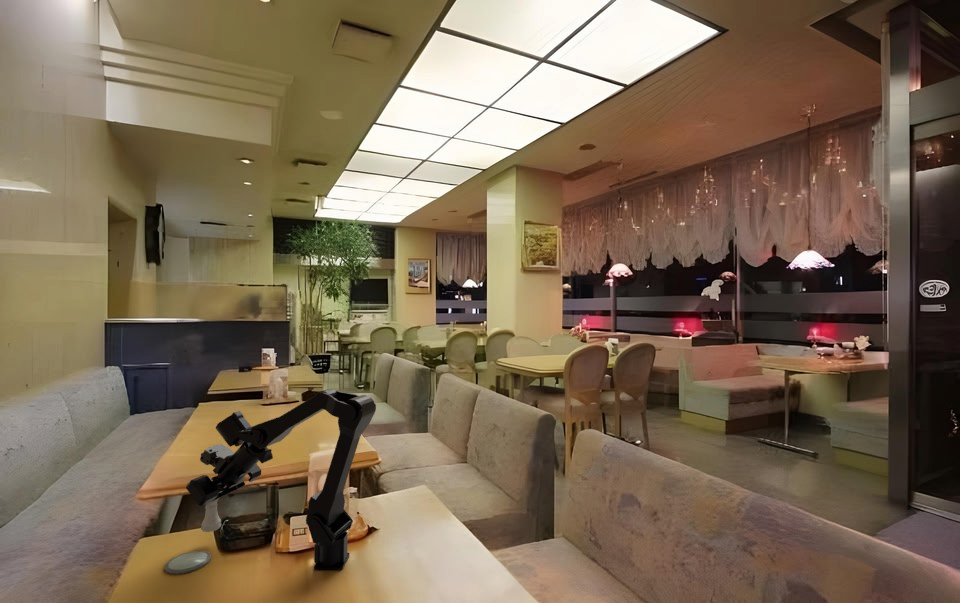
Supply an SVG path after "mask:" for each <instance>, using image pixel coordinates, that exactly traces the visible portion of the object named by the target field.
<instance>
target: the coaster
mask: <svg viewBox="0 0 960 603" xmlns="http://www.w3.org/2000/svg"><path fill="white" fill-rule="evenodd" d="M211 558H212V555H211V553H210V552H209V551H207V550H193V551H189V552H185V553H181V554H178V555H176V556H173V557H172V558H171V559H169V560H168V561H167V562H166V563H165V564H164V572H165V573H166V574H168V575H172V576H173V575H174V576H175V575H185V574H189V573H192V572H195V571H198V570H200V569H202V568H203V567H205V566H207V565H209V563H210V561H211Z"/></svg>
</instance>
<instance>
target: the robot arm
mask: <svg viewBox="0 0 960 603" xmlns="http://www.w3.org/2000/svg"><path fill="white" fill-rule="evenodd" d="M376 409H377V404H376V402H375V401H374V399H373V398H372V397H371V396H369V395H367V394H366V395H365V394H361V395H358V394H355V393H351V392H350V393H349V392H345V391H340V390H337V389H334V388H326V389H324V390H321V391H318V392H317V393H316V394H315V395H313V396H312V397H310V398H308V399H307V400H305V401H303V402H302V403H300V404H298V405H297V406H295V407H294V408H292V409H290V410H288V411H287V412H284V414H282V415H280V416H278V417H275V418H272V419H270V420H267V421H264V422H260V423H258V424H255V425H250V423H249V422H248V420H247V419H246V418H245V416H244V414H243V413H242V412H241V410H237V411H235V412H232V414H231V415H229V416H227V417H225V418H224V419H222V420H221V421H220V422H218V423H217V424H216V426H215V429H216V431H217V432H218V434H219V435H220V436H221V438H222V439H223V441H224V442H225V443H226V444H227V445H228V446H227V445H225V444H223V443H217V444H215V445H212V446H209V447H207V449H204V450H203V452H202V453H200V457H199V460H200V462H201V463H203V464H204V465H206V466H210V465H211V466H212V467H214V468H213V469H212V472H213V473H214V474H215V476H212V477H211V478H210V476H208V475H205V474H202V475H200V476H197V477H196V478H195V477H194V478H193V479H191V480H190V481H189V482H188V483H187V484H186V486H185V489H186V491H187V492H188V493H189V495H190V496H191V497H192V499H193V500H194V501H195V503H196V504H197V505H198V506H200V507H202V506H206V504H207V503H209V502H212V501H214V500H216V499H218V498H219V499H220V498H222V497H223V496H226V495H227V494H230V493H232V492H234V491H237V490H238V489H239V490H240V488H243V487H245V485H246V482H245V481H246V476H247V475H248V476H249V478H248V482H249V483H252V482H254V481H257V480H258V479H259V478H260V477H261V476H262V468H260V466H259V465H258V463H261V464H264V463H267V462H269V461H271V460H273V458H274V456H273V455H274V454H273V453H272V448H271V449H270V448H268V447H270V446H271V445H274V444H276V443H280V442H281V441H283V440H284V439H285V438H286V437H287V436H288V435H290V434H291V432H292V430H293V429H294V428H296V427H297V426H299V425H300V424H303V423H304V422H306V421H307V420H309V419H311V418H312V417H314V416H316V415H317V414H319V413H320V412H322V411H326V412H327V413H328V414H330V416H333V417H335V418H337V425H338V431H339V434H338V435H339V436H338V439H337V442H336V445H335V448H334V450H333V451H334V452H333V455H332V456H331V457H332V458H331V461H330V464H329V467H328V470H327V472H326V473H327V474H326V476H325V480H324V484H323V487H322V490H320V491H319V492H317V493H315V494H313V495H312V496H311V497H310V498H309V500H308V506H307V509H306V511H304V515H306V517H305V524H306V525H307V526H308V530H309V533H310V536H311V537H310V538H311V540H312V543H314V547H313V550H314V555H313V560H314V563H315V565H314V566H313V570H315V571H318V570H319V571H322V570H323V571H325V570H326V571H327V570H328V571H329V570H330V571H331V570H335V571H336V570H343V569H344V567H345V565H346V563H347V562H348V559H349V557H350V552H348V538H349V536H348V533H349V532H348V531H349V530H350V529H351V528H352V525H353V523H354V519H352V518H351V516H350V514H349V513H348V512H347V511H346V510H345V502H346V500H345V499H346V498H345V495H344V490H345V487H346V483H347V481H348V477H349V475H350V474H349V473H350V470H351V468H352V464H353V462H354V458H355V456H356V452H357V449H358V445H359V442H360V439H361V436H362V434H363V433H364V431H366V429H367V427H368V426H369V425H370V423H371V420H372V419H373V417H374V415H375V413H376V411H377V410H376ZM233 446H234V447H238V448H237V450H236V451H235V452H234V450H232V449H231V448H229V447H233Z"/></svg>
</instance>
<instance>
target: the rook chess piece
mask: <svg viewBox="0 0 960 603" xmlns="http://www.w3.org/2000/svg"><path fill="white" fill-rule="evenodd" d="M219 499H220V498H218V499H216V500H214V501H212V502H209V503H207V504H205V505H204V506H205V507H204V508H205V514H204V515H205V516H204V519H203V520H202V522H201V528H200V530H201V532H203V533H211V532H214V531H217V530H219V529H220V528H221V526H222V519H221V518H220V516H219V514H218V505H219V504H218V503H217V502H218V501H219Z"/></svg>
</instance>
